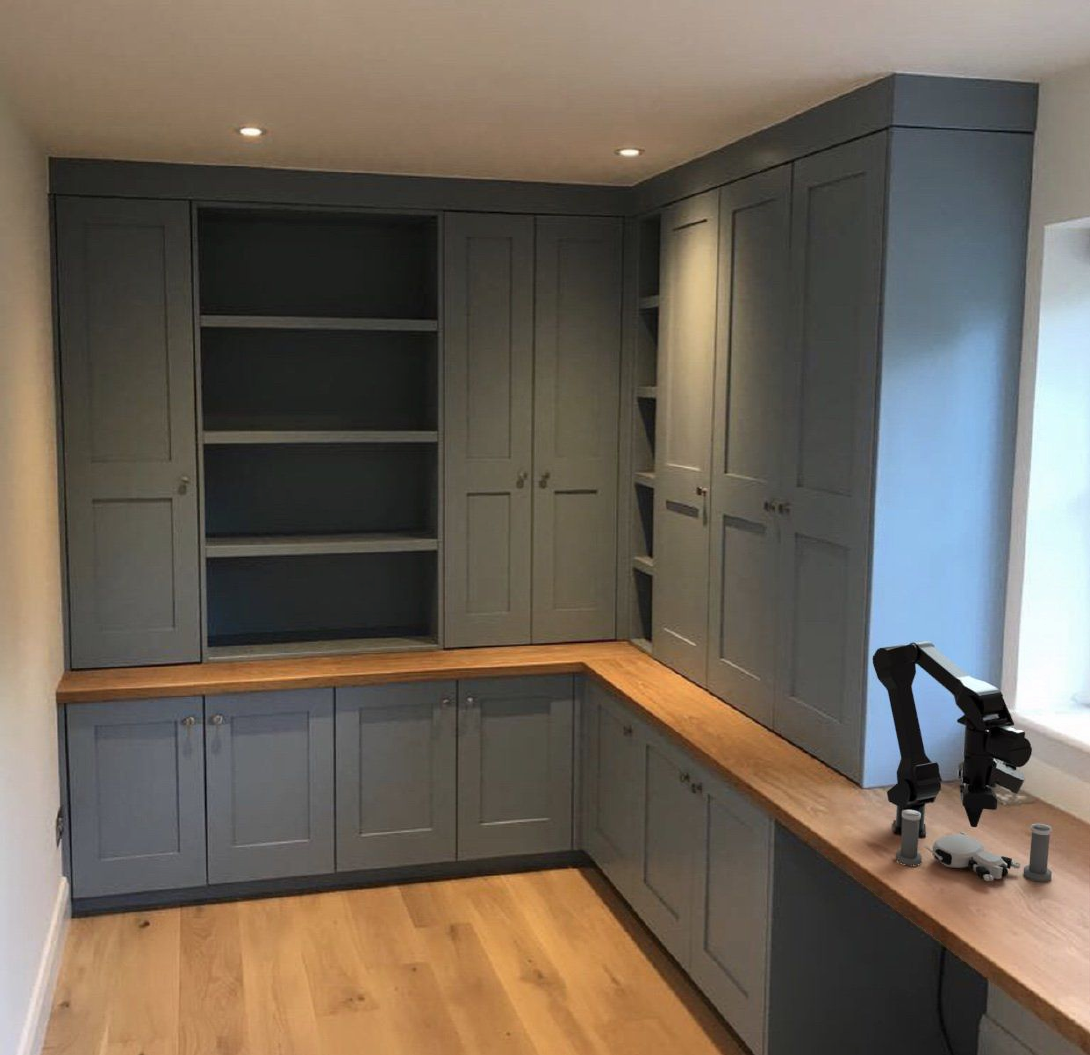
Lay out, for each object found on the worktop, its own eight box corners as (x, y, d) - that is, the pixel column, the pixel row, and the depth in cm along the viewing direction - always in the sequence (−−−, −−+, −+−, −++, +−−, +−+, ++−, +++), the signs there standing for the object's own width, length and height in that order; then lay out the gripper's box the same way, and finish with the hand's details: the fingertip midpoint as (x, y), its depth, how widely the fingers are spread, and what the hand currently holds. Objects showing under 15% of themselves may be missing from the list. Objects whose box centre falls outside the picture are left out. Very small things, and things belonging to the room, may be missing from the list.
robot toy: (1022, 878, 241) (956, 847, 252) (1026, 857, 240) (958, 826, 251) (987, 895, 233) (919, 862, 245) (990, 873, 232) (922, 841, 244)
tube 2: (1022, 869, 242) (1026, 821, 241) (1049, 872, 241) (1053, 824, 239) (1024, 880, 238) (1028, 830, 236) (1052, 883, 236) (1057, 834, 235)
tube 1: (895, 854, 249) (898, 807, 247) (921, 857, 247) (924, 809, 246) (895, 864, 244) (898, 816, 242) (921, 867, 242) (925, 819, 241)
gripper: (1028, 771, 231) (1022, 850, 233) (1018, 739, 248) (1012, 813, 251) (965, 765, 233) (960, 843, 236) (959, 734, 251) (954, 807, 254)
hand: (973, 826), depth 244 cm, fingers closed
